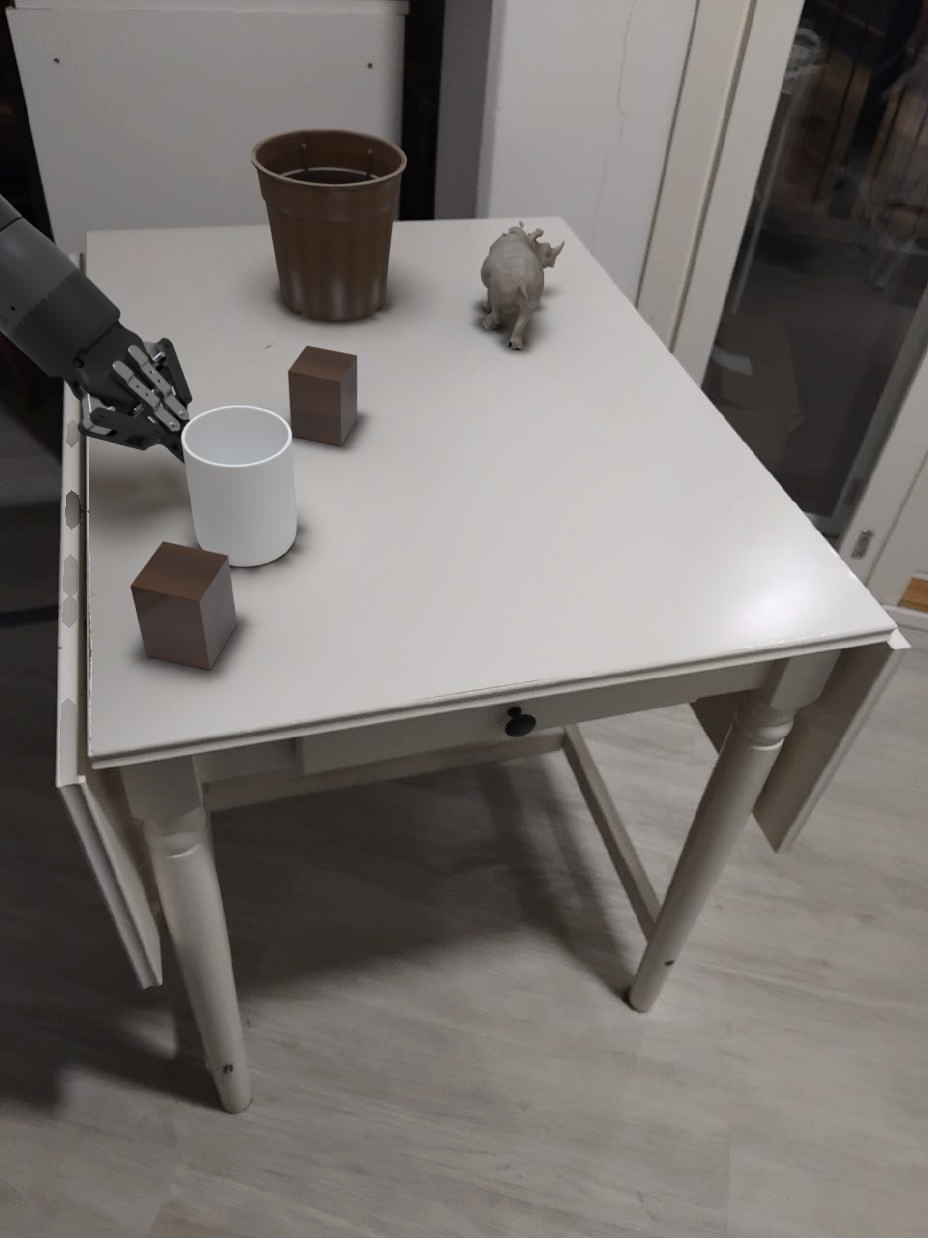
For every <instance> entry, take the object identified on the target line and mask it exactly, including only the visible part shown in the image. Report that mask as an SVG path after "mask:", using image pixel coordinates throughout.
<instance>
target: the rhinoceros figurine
mask: <svg viewBox="0 0 928 1238" xmlns="http://www.w3.org/2000/svg"><path fill="white" fill-rule="evenodd" d="M518 224H519V226H518V225H517V226H516V225H515V226H511V227H510V228H508V232H507V233H506V232H502V233H501V235H500V236H499V237H498V238H497V239H496V240H495V241H493V243H492V244H491V245H490V246H489V251H488V255H487V256H486V257H485V259H484V260H483V263H482V265H481V268H480V279H481V283H482V285H483V286H484V287H485V288H486V289H487V291H486V295H487V299H486V302H484V303H483V305H482V307H483V309H485V311H486V312H488V313H489V314H488V315H487V316H486V317H484V318H483V321H482V323H480V324H481V326H482V327H483V328H485V329H486V330H492V329H493V330H495V329H498V328H500V325H499V324H501V323H502V322H503V319H504V317H505V316H506V315H507V314H513V315H514V314H515V315H517V319H516V321H515V324H514V326H513V330H512V335H511V337H510V339H509V341H508V342H507V347H508V348H509V349H511V350H516V349H519V350H521V351H522V350H523V349H524V348H525V346H524V344H523V331H524V329H525V327H526V325H527V323H528V322H529V321H530V320H531V318H532V316H533V315H534V313H535V312H536V310H537V308H538V305H539V304H540V303H539V302H540V301H541V296H542V294H543V291H544V289H545V270H544V269H547V268H550V269H551V268H552V269H553V268H555V264H556V260H557V257H558V256H559V255H560V253H561V252H562V250H563V248H564V246H565V243H566V242H565V240H563V241H561V243H560V244H559V245H557V246H555V247H551V243H549V242H548V241H544V242H539V241H538V240H537V239H538V238H541V237H543V235H544V233H545V232H544V229H543V228H540V227H537V228H536V229H535V231H533V232H531V233H530V232H528V233H526V231H525V230H523V229H524V222H523V221H522V220H519V222H518ZM510 344H511V346H510Z"/></svg>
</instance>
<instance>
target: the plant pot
mask: <svg viewBox="0 0 928 1238" xmlns="http://www.w3.org/2000/svg"><path fill="white" fill-rule="evenodd" d="M250 161H251V164H252V165H253V167H254V168H255V169H256V174H257V177H258V183H259V188H260V195H261V198H262V199H263V200H264V202H265V206H266V207H265V208H266V213H267V218H268V224H269V229H270V234H271V235H270V236H271V240H272V241H271V242H272V246H273V247H272V248H273V253H274V259H275V264H276V270H277V276H278V283H279V291H280V296H281V297H280V298H281V300H282V301H283V303H284V305H285V306H286V308H287V309H288V310H290V311H291V312H293V313H294V314H299V313H302V314H304V315H306V316H307V317H308V318H309V319H310V320H315V321H321V322H334V323H339V322H350V321H355V320H361V319H363V318H366V317H370V316H371V315H372V314H373V312H374V311H375V310H376V309H381V308H382V307H383V306H384V304H385V302H386V297H387V287H388V286H387V285H388V275H389V265H390V254H391V247H392V246H391V245H392V238H393V237H392V236H393V228H394V227H393V226H394V219H395V211H396V204H397V203H398V201H399V198H400V191H401V190H400V189H401V180H402V174H403V173H404V171H405V170H406V168H407V164H408V163H407V161H408V159H407V156H406V154H405V152H404V151H403V150H402V149H401V148H400V147H399V146H397V145H396V144H394V143H393V142H391V141H389V140H387V139H385V138H382V137H380V136H377V135H373V134H370V133H367V132H361V131H356V130H351V129H341V128H304V129H295V130H289V131H283V132H280V133H277V134H272V135H270V136H267V137H266V138H263V139H262V140H260V141H258V142H257V143H255V145H254V146H253V147H252V149H251V150H250Z"/></svg>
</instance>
